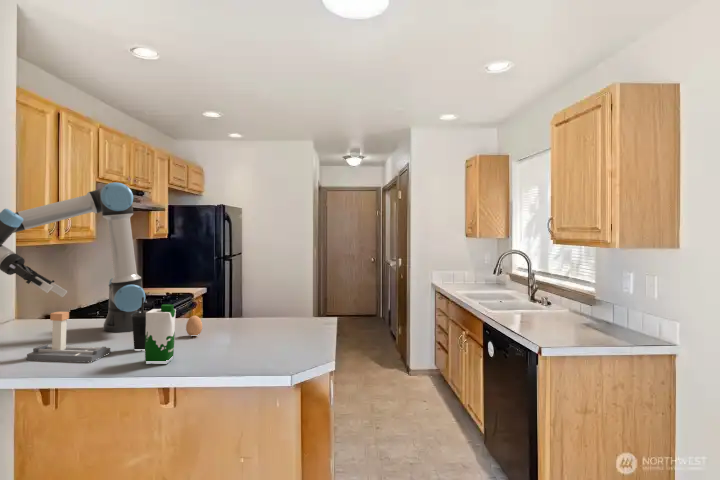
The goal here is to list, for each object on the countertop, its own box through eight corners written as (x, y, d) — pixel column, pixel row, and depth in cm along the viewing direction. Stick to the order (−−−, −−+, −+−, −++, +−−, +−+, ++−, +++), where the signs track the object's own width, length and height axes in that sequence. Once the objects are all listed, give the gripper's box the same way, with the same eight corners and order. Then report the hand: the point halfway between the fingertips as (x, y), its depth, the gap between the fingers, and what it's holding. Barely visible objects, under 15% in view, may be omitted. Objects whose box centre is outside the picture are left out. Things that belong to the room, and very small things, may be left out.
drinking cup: (156, 348, 180) (158, 297, 180) (141, 353, 173) (143, 299, 173) (141, 346, 183) (142, 295, 183) (125, 350, 176) (127, 297, 175)
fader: (49, 351, 164) (50, 313, 163) (56, 348, 168) (57, 311, 167) (61, 351, 164) (62, 313, 163) (68, 348, 168) (69, 311, 167)
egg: (204, 335, 205) (205, 314, 205) (197, 338, 198) (198, 317, 198) (190, 334, 206) (190, 313, 206) (182, 337, 199) (183, 316, 199)
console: (26, 360, 160) (27, 350, 160) (50, 350, 172) (50, 342, 172) (91, 362, 160) (91, 353, 160) (110, 353, 172) (110, 344, 172)
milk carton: (168, 365, 160) (170, 307, 159) (141, 365, 159) (142, 306, 159) (176, 358, 168) (178, 303, 168) (150, 358, 168) (152, 302, 167)
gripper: (16, 275, 183) (64, 304, 184) (-20, 263, 160) (35, 296, 161) (30, 259, 186) (77, 288, 187) (-3, 245, 162) (50, 278, 163)
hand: (57, 292), depth 174 cm, fingers open, 13 cm apart
